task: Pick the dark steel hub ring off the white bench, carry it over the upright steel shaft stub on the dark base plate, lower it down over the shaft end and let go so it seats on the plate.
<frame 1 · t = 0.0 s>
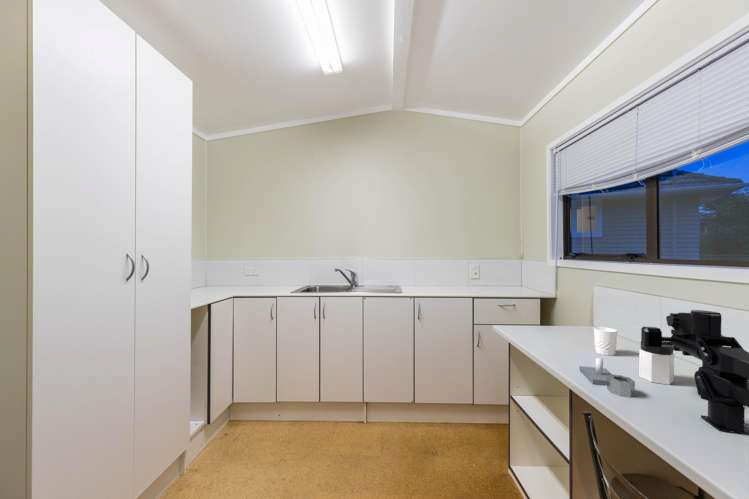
hand: (663, 332, 103), 17 cm above the worktop, tool horizontal, fingers open, 9 cm apart
hub ring: (620, 391, 98), on the worktop
white cup: (605, 353, 133), on the worktop
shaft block: (599, 378, 108), on the worktop
jar: (656, 379, 107), on the worktop
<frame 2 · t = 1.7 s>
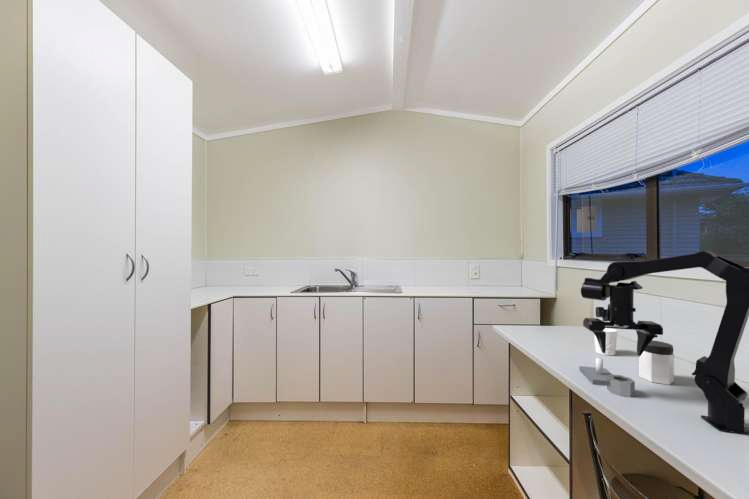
hand: (620, 354, 97), 11 cm above the worktop, tool pointing down, fingers open, 9 cm apart
nothing on the worktop moved.
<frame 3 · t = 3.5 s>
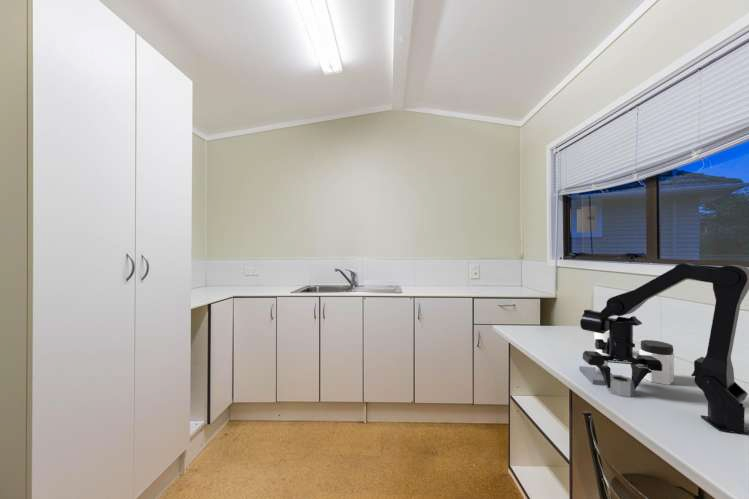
hand: (620, 388, 98), 1 cm above the worktop, tool pointing down, fingers closed on hub ring, 6 cm apart
hub ring: (620, 391, 98), on the worktop, touching gripper
everything else where it was.
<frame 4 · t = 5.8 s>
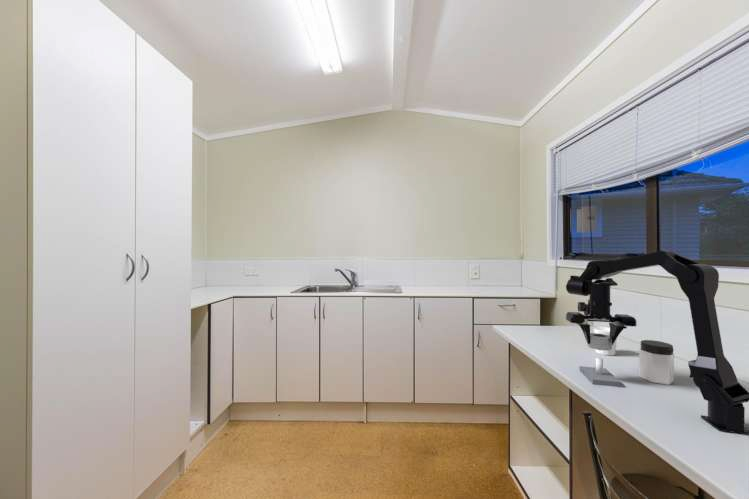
hand: (599, 344, 108), 11 cm above the worktop, tool pointing down, fingers closed on hub ring, 6 cm apart
hub ring: (599, 347, 108), point 10 cm above the worktop, touching gripper
everything else where it was.
when the fingers open (5 cm above the worktop, at t = 8.0 s): hub ring drops 2 cm, resting on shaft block.
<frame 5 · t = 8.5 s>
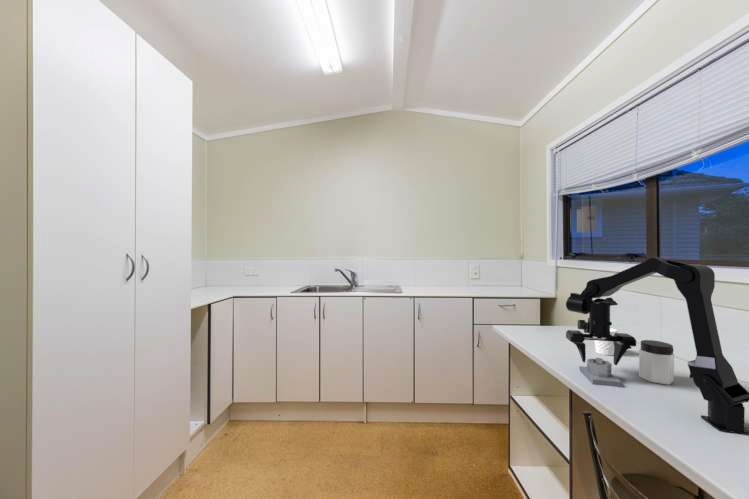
hand: (599, 363, 108), 5 cm above the worktop, tool pointing down, fingers open, 9 cm apart
hub ring: (599, 373, 108), point 1 cm above the worktop, touching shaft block
everything else where it was.
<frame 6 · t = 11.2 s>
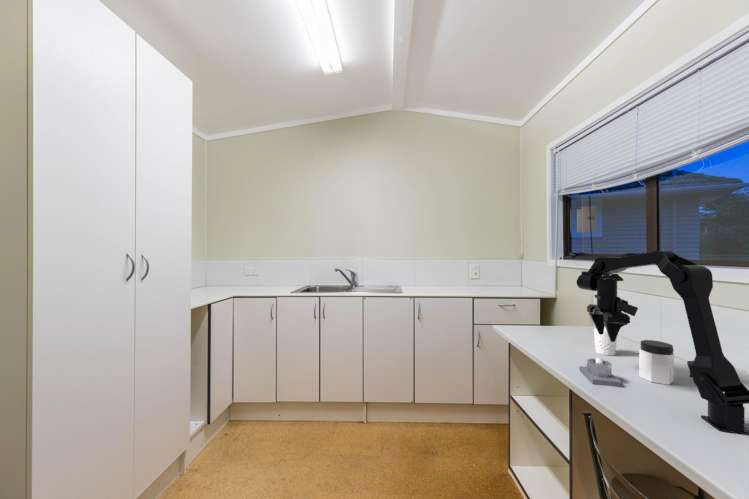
hand: (606, 337, 111), 12 cm above the worktop, tool pointing down, fingers open, 9 cm apart
nothing on the worktop moved.
at the end: hub ring 0.1 cm off-centre on the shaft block, point 1.5 cm above the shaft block's base; hub ring tilted 0°; the gripper is holding nothing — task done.
